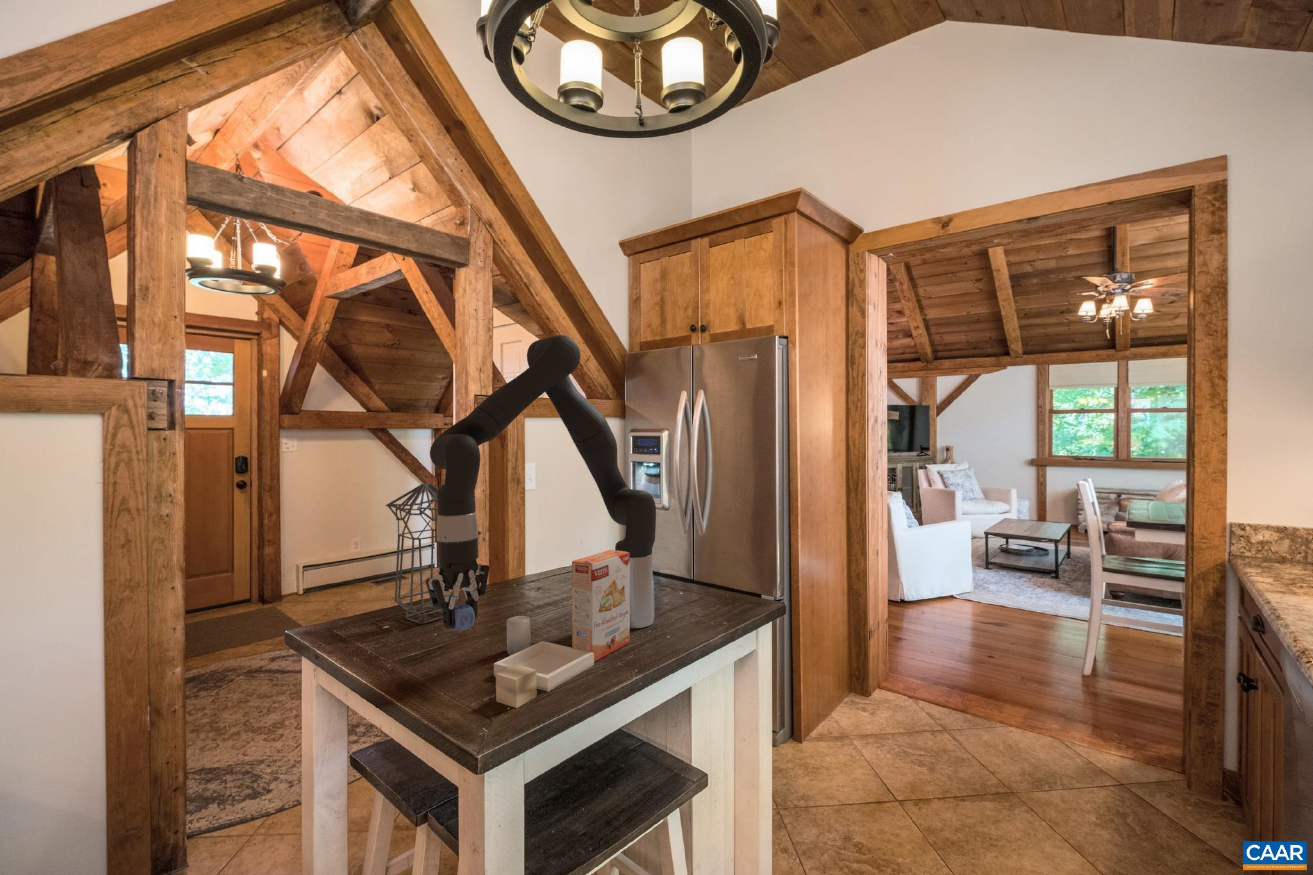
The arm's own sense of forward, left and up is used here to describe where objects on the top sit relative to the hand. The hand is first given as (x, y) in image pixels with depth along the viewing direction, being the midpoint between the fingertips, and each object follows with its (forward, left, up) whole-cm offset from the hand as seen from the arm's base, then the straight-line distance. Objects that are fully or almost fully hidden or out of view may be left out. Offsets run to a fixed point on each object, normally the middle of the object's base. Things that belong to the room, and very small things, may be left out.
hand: (460, 622), depth 114 cm
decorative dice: (0, 0, -1) cm, 1 cm away
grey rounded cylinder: (-16, 0, -11) cm, 19 cm away
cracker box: (-25, +16, -11) cm, 31 cm away
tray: (-11, +12, -11) cm, 19 cm away
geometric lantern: (-22, -38, -11) cm, 45 cm away
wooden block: (+1, +16, -11) cm, 19 cm away
